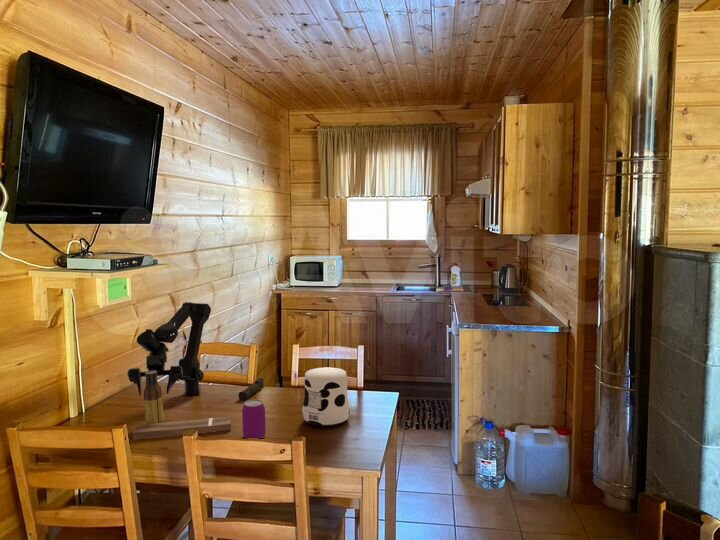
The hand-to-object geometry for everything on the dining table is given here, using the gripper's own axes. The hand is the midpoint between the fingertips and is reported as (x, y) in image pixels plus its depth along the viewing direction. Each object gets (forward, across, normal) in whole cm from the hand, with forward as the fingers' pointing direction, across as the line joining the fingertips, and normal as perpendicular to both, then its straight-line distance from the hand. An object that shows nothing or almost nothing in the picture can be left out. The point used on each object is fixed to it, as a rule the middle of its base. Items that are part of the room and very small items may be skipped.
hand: (153, 394), depth 189 cm
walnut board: (+15, +11, 0) cm, 19 cm away
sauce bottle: (+9, 0, +7) cm, 11 cm away
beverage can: (+22, +35, -7) cm, 42 cm away
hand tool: (-11, +35, +26) cm, 45 cm away
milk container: (+16, +61, -1) cm, 63 cm away
